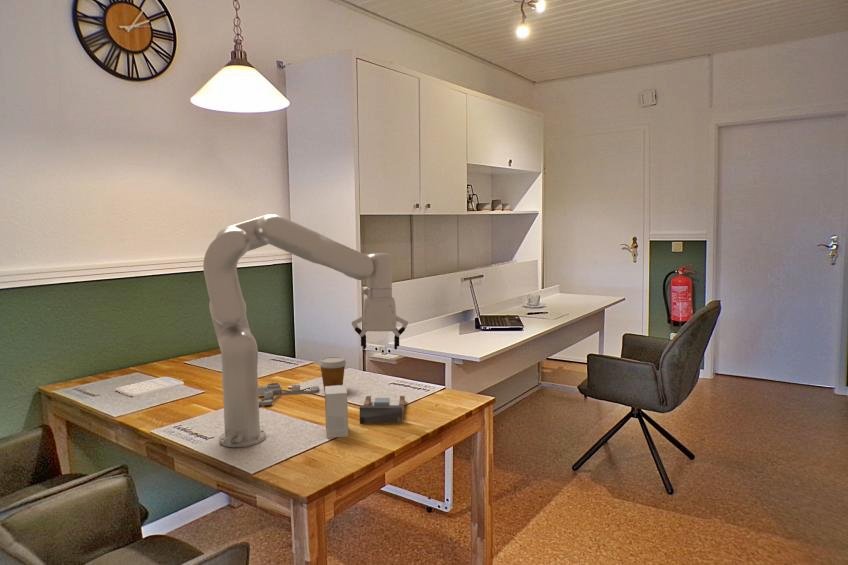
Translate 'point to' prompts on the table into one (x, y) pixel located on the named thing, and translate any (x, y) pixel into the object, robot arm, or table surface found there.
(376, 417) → the guide channel
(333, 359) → the disposable coffee cup
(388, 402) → the block
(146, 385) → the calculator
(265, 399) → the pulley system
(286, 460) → the table surface
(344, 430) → the small box
